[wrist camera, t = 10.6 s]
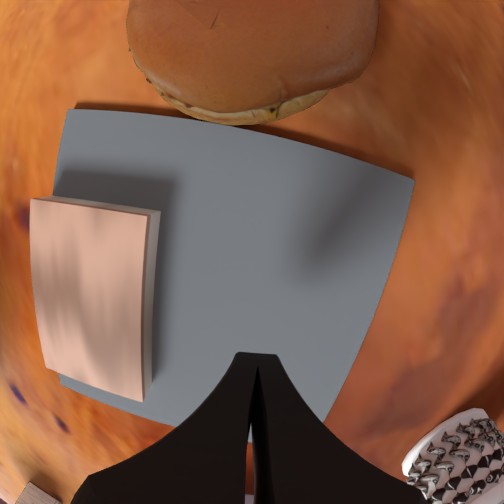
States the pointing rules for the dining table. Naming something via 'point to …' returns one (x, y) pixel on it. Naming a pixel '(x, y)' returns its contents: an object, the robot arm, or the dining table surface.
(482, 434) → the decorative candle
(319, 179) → the mat
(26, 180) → the dining table surface
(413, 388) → the dining table surface
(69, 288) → the tile
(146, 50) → the burger
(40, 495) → the syrup box
